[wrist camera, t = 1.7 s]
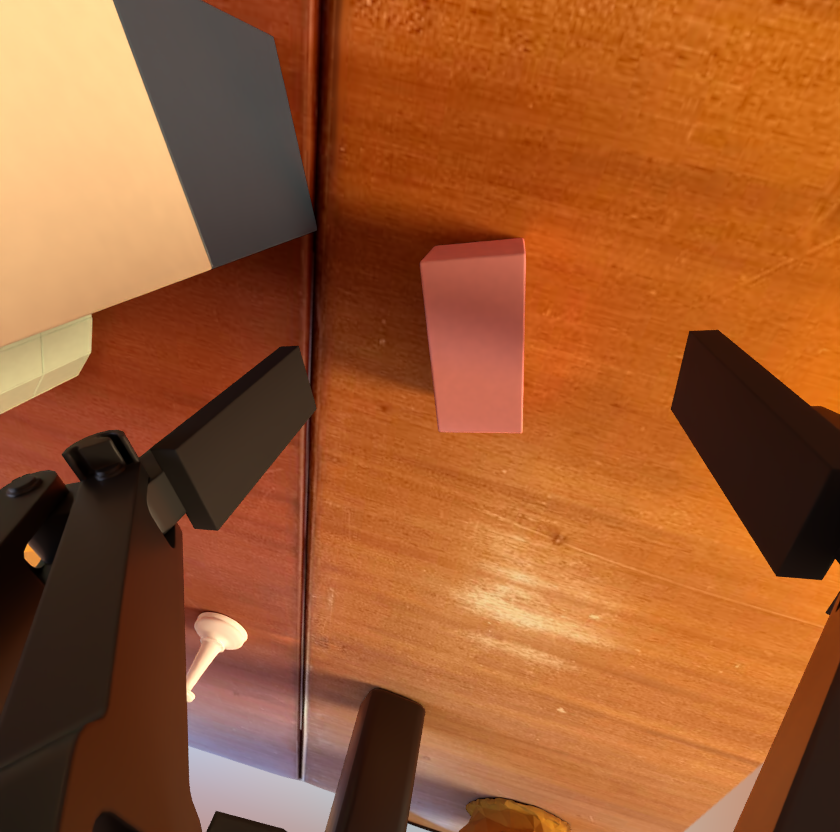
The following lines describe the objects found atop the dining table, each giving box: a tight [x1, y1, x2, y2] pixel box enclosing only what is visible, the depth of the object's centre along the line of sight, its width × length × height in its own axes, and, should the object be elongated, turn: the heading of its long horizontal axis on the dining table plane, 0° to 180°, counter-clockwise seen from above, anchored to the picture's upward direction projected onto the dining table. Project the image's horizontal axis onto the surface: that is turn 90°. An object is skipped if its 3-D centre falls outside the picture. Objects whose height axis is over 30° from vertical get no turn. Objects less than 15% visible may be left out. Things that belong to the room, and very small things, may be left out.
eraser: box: [420, 238, 526, 433], centre depth 16 cm, size 7×4×3 cm, turn 7°
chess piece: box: [186, 612, 247, 702], centre depth 33 cm, size 5×5×10 cm
